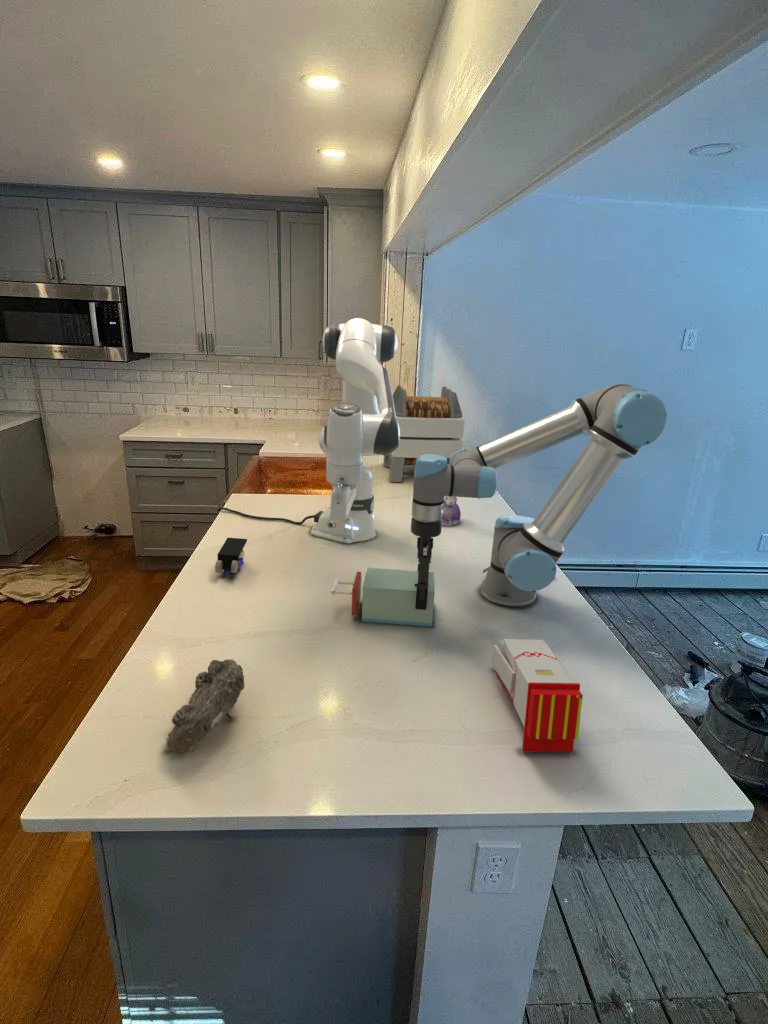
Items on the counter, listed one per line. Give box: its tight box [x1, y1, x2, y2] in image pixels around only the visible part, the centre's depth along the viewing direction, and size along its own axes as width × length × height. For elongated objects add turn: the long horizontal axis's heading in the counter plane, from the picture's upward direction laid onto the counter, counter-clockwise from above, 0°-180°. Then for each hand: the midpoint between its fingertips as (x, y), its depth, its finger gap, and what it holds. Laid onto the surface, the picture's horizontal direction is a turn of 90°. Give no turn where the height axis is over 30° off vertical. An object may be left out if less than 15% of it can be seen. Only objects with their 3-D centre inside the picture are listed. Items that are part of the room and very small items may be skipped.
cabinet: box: [361, 567, 436, 627], centre depth 147 cm, size 18×11×10 cm, turn 86°
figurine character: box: [214, 537, 248, 578], centre depth 166 cm, size 7×8×15 cm
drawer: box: [330, 571, 362, 617], centre depth 147 cm, size 22×10×8 cm, turn 86°
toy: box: [491, 638, 584, 753], centre depth 114 cm, size 12×13×30 cm
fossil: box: [166, 658, 245, 754], centre depth 106 cm, size 22×10×15 cm
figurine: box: [441, 496, 462, 527], centre depth 210 cm, size 9×10×15 cm
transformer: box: [383, 384, 465, 483], centre depth 268 cm, size 34×33×41 cm
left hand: (343, 526), depth 141 cm, fingers open, 6 cm apart
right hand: (421, 597), depth 146 cm, fingers closed on cabinet, 11 cm apart
